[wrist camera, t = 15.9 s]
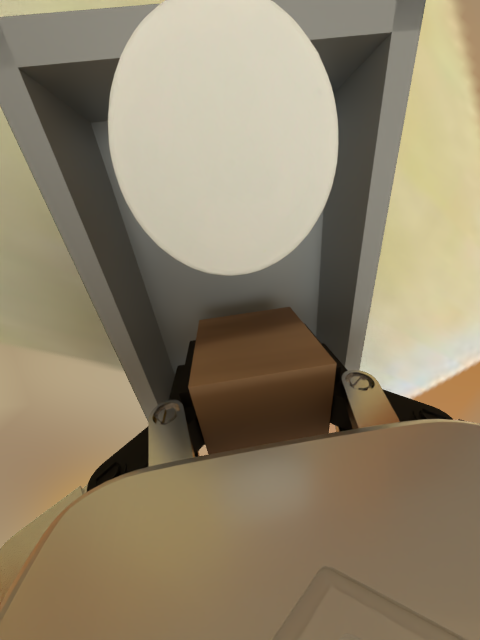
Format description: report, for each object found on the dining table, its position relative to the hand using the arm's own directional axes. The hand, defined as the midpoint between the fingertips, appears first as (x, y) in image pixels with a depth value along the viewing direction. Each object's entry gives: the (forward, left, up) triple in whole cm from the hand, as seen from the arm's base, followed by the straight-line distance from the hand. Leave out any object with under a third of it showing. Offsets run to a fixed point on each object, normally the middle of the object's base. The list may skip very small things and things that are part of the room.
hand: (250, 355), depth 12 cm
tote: (0, +4, -5) cm, 6 cm away
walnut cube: (0, 0, -1) cm, 1 cm away
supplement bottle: (0, +8, -4) cm, 9 cm away
